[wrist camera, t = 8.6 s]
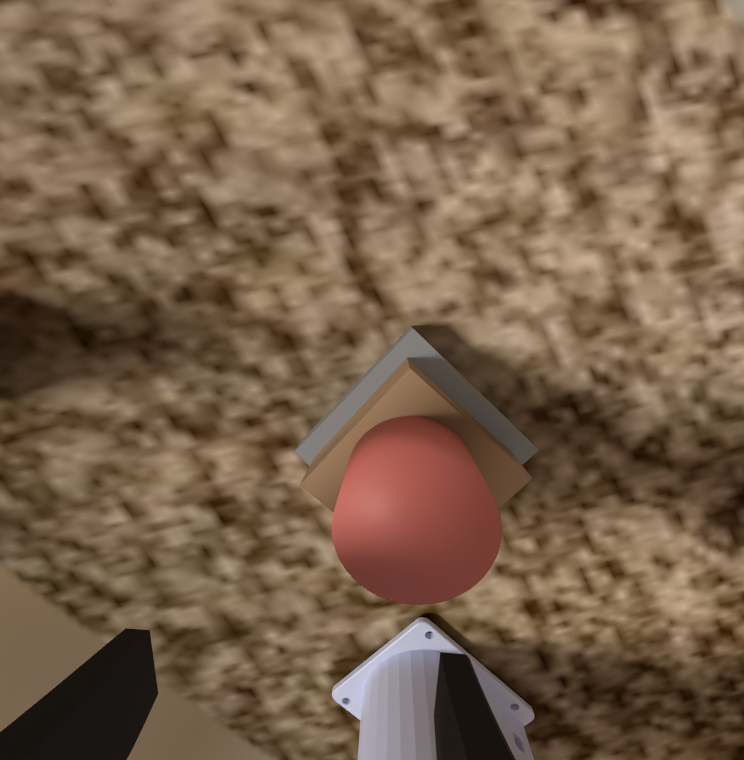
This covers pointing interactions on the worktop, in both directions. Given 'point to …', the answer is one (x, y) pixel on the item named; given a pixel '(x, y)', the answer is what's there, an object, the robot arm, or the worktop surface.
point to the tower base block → (440, 374)
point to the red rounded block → (415, 513)
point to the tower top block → (425, 399)
